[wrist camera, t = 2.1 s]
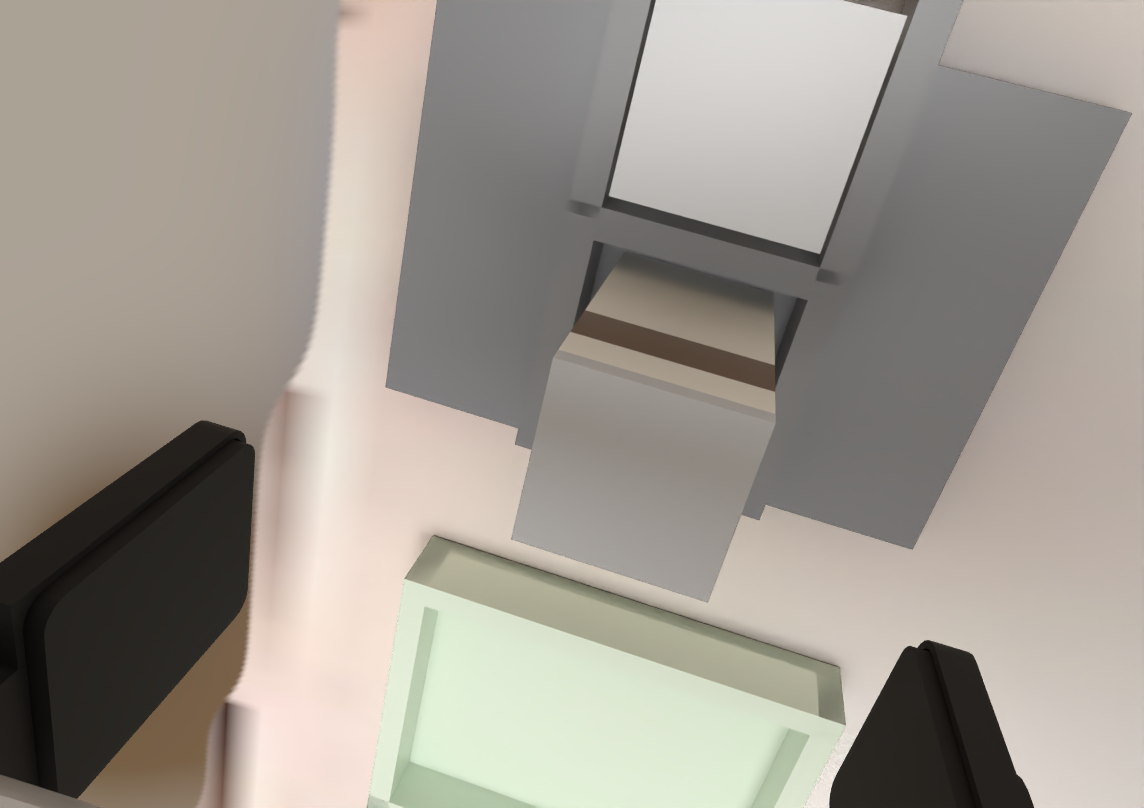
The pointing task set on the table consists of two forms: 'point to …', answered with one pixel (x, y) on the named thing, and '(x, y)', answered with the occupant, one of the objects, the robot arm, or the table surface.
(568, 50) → the block
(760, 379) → the grey rectangular block
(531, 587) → the parts tray
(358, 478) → the table surface
